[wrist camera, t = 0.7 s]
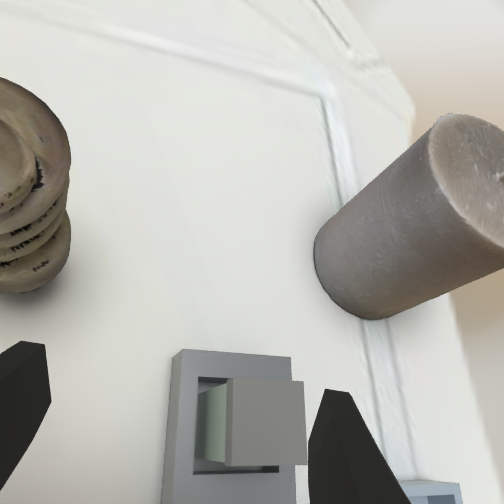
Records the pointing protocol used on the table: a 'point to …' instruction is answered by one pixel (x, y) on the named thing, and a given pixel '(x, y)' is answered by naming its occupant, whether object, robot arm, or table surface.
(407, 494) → the parts tray
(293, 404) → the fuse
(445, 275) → the pillar candle
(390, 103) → the table surface
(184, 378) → the block
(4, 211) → the light bulb
